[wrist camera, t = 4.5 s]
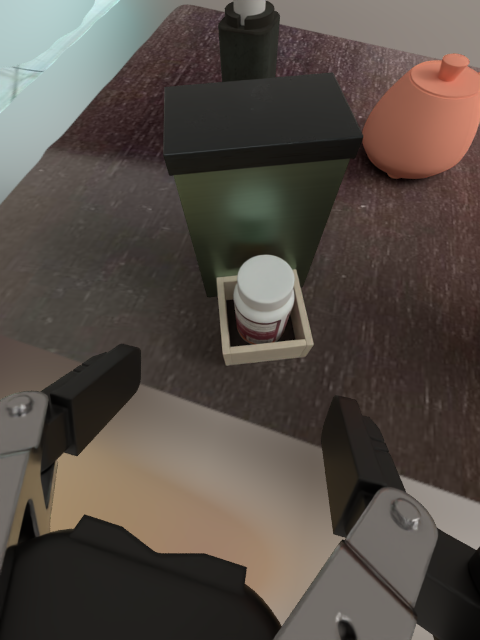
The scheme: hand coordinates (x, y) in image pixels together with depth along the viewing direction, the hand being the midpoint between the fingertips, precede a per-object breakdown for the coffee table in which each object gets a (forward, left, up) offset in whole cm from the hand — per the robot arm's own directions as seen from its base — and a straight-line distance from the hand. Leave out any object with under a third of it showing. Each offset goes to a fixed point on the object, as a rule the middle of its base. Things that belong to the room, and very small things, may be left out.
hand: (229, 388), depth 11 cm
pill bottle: (+8, -3, -13) cm, 16 cm away
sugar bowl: (+30, -26, -13) cm, 42 cm away
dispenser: (+15, -3, -13) cm, 20 cm away
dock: (+8, -3, -13) cm, 16 cm away
